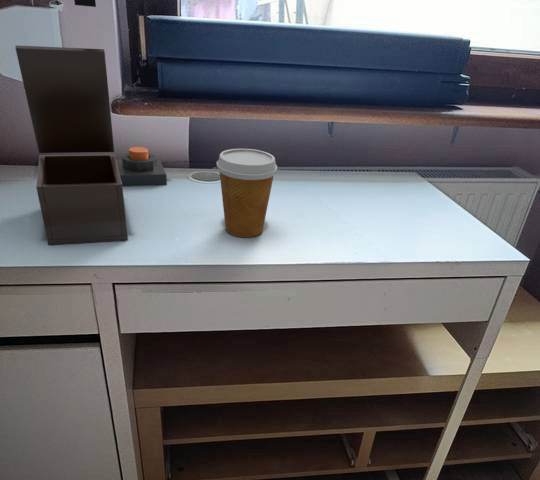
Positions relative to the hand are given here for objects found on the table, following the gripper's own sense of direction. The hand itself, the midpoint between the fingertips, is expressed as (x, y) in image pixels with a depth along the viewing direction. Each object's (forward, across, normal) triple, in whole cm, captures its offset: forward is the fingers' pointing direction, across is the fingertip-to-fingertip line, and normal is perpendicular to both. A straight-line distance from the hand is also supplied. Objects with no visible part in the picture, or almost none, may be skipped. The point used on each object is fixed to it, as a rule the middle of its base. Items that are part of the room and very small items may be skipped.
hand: (85, 1), depth 74 cm
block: (+29, +11, -7) cm, 32 cm away
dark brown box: (+29, -11, +3) cm, 31 cm away
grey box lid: (+13, -6, +4) cm, 15 cm away
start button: (+26, +11, -7) cm, 29 cm away
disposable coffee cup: (+29, -16, -22) cm, 40 cm away
